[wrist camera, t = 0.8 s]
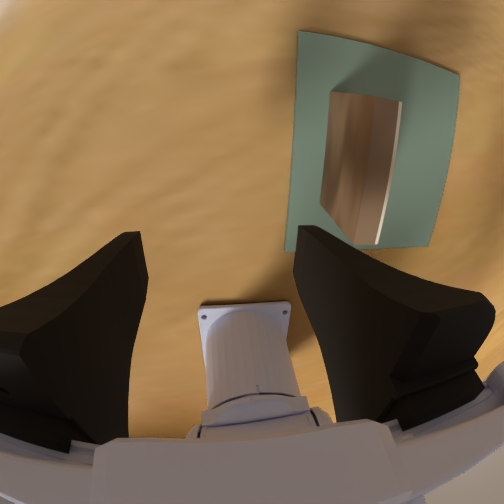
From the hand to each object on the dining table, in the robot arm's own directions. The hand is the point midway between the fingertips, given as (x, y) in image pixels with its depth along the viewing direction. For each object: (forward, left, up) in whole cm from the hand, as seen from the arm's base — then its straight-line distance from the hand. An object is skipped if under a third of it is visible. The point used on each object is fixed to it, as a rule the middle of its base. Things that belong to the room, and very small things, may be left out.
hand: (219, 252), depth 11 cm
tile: (+2, -8, -10) cm, 13 cm away
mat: (+2, -12, -10) cm, 16 cm away
